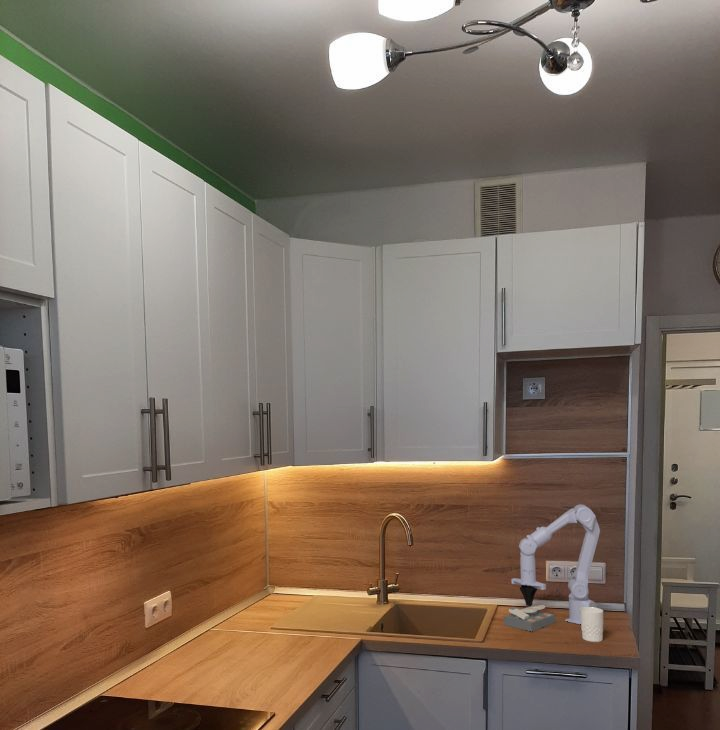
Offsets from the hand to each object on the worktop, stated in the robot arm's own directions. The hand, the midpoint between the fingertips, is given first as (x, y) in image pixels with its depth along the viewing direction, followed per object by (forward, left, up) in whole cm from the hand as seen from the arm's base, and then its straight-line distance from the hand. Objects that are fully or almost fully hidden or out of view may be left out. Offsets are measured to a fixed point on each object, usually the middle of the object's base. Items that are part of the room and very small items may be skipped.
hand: (529, 605), depth 254 cm
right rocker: (-3, 0, -1) cm, 3 cm away
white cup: (-29, +5, -5) cm, 30 cm away
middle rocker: (-3, +6, -1) cm, 6 cm away
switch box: (-4, +6, -5) cm, 8 cm away
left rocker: (-3, +11, -1) cm, 11 cm away
